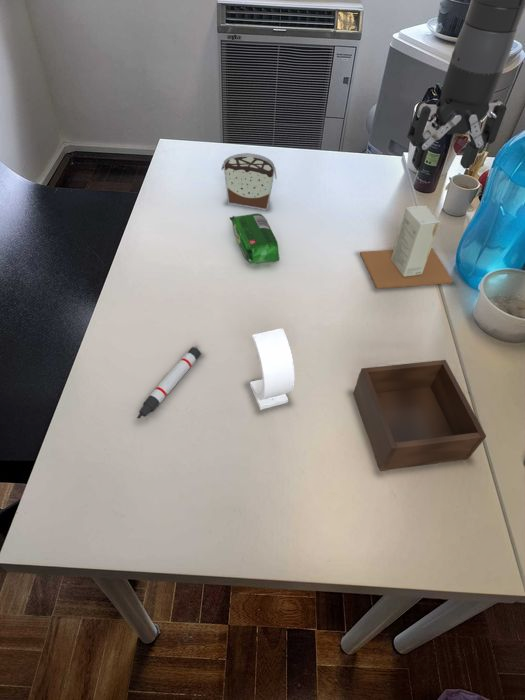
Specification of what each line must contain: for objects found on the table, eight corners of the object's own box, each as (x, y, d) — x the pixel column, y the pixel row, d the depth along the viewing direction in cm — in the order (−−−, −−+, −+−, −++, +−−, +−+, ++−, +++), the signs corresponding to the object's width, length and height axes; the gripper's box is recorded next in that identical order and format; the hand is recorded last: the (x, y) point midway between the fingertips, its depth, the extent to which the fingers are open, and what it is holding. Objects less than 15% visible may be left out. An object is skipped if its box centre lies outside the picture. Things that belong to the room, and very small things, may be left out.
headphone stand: (276, 378, 77) (282, 328, 68) (290, 407, 73) (298, 359, 64) (249, 385, 76) (252, 334, 66) (262, 415, 72) (266, 366, 63)
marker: (191, 352, 79) (190, 345, 78) (201, 357, 79) (200, 349, 77) (133, 419, 70) (131, 412, 69) (144, 425, 70) (142, 418, 68)
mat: (430, 249, 101) (431, 247, 101) (451, 283, 94) (452, 281, 94) (359, 254, 99) (360, 251, 99) (376, 289, 92) (376, 286, 92)
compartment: (431, 384, 77) (445, 359, 72) (468, 459, 69) (486, 436, 64) (352, 393, 75) (361, 368, 70) (379, 471, 67) (391, 448, 62)
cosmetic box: (422, 275, 95) (442, 223, 85) (402, 277, 94) (421, 225, 85) (408, 255, 99) (426, 203, 89) (389, 257, 98) (405, 206, 89)
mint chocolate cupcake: (279, 197, 112) (282, 157, 104) (273, 211, 108) (276, 170, 100) (229, 188, 113) (228, 148, 106) (222, 202, 109) (221, 161, 102)
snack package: (259, 224, 105) (260, 203, 101) (281, 267, 95) (283, 246, 91) (228, 228, 103) (228, 207, 99) (248, 273, 93) (248, 252, 89)
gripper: (442, 71, 64) (409, 180, 77) (536, 70, 66) (489, 177, 79) (421, 52, 69) (394, 158, 82) (510, 51, 71) (470, 155, 83)
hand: (441, 167), depth 80 cm, fingers open, 8 cm apart
